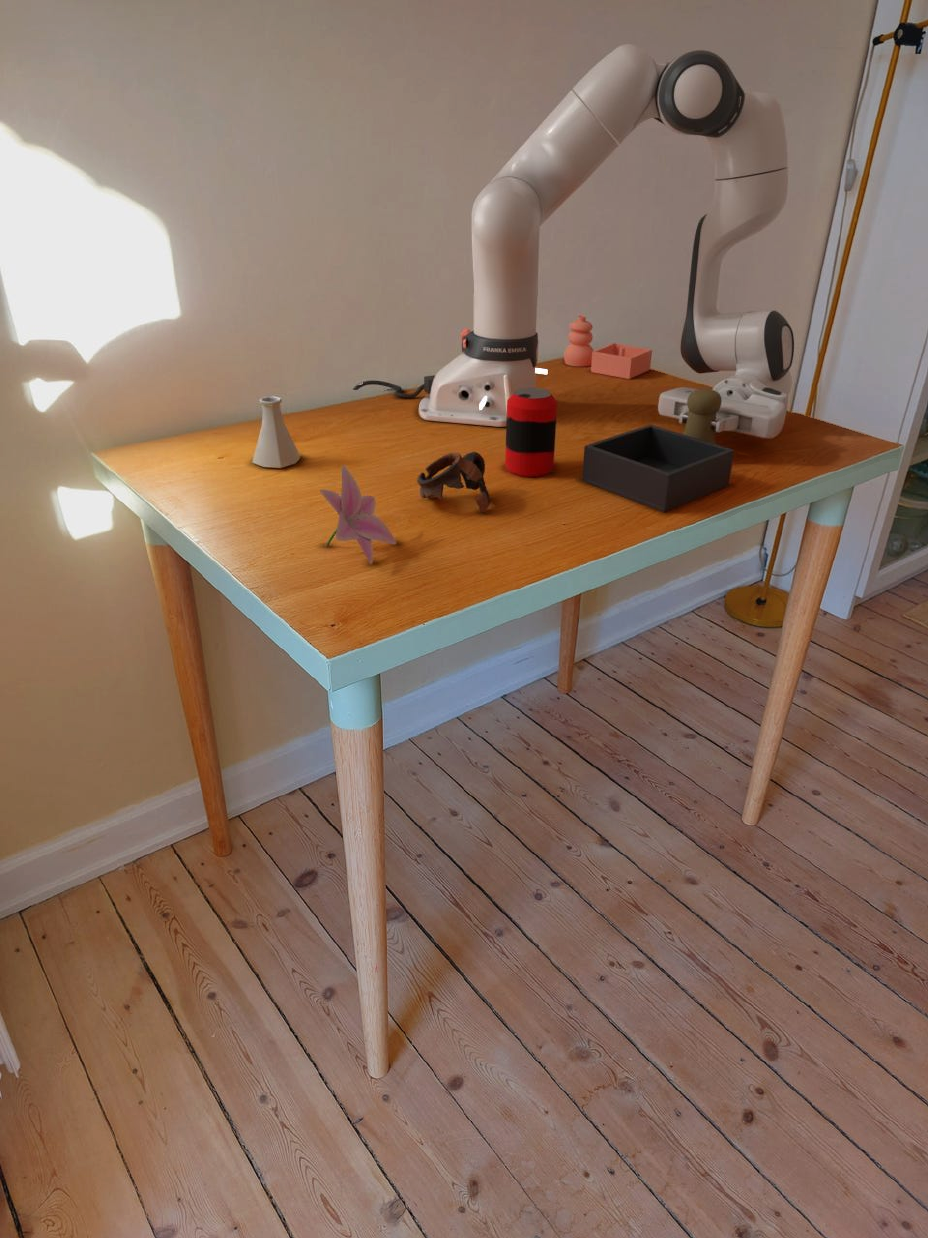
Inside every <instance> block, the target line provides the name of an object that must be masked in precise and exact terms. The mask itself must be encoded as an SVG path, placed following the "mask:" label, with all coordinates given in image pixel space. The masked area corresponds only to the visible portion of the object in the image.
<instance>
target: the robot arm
mask: <svg viewBox="0 0 928 1238" xmlns="http://www.w3.org/2000/svg"><path fill="white" fill-rule="evenodd" d="M650 119H654V120H656V121H658V122H660V123H661V124H662V125H664V126H665V127H666V128H668V129H669V130H670V131H672V132H673V133H676V134H678V135H682V136H683V135H684V136H701V137H704V138H706V140H707V141H708V142H709V144H710V146H711V147H710V148H711V150H712V156H713V164H714V165H713V170H714V175H713V176H714V188H713V189H714V190H713V197H712V200H711V204H710V206H709V209H708V211H707V213H706V214H704V215H703V216H702V217H700V219H699V221H698V223H697V225H696V229H695V234H694V239H693V246H692V253H691V263H690V272H689V273H690V274H689V284H688V291H687V292H688V294H687V303H686V304H687V305H686V312H685V319H684V323H683V326H682V327H683V328H682V331H681V332H682V333H681V338H680V355H681V358H682V359H683V361H684V362H685V364H686V365H687V366H688V367H689V368H690V369H691V370H693V371H694V372H695V373H696V374H709V373H718V372H735V373H734V374H733V375H731V376H729V377H728V378H725V379H723V380H721V381H719V382H718V383H717V384H715V385H714V386H713V388H712V389H711V390H713V391H716V392H718V393H719V394H720V396H721V400H722V402H721V406H720V409H719V411H718V412H717V413H716V419H714V420H713V421H712V422H711V431H713V432H716V433H718V434H720V433H721V432H731V433H734V432H735V433H739V434H743V435H748V436H753V437H756V438H759V439H760V438H761V439H769V440H770V439H774V438H776V437H777V436H779V434H781V432H782V431H783V428H784V424H785V421H786V416H787V411H788V406H789V405H788V403H789V395H790V392H791V390H792V387H793V386H792V385H793V378H792V373H791V371H790V369H791V367H792V364H793V360H794V353H795V337H794V332H793V329H792V327H791V325H790V324H789V321H788V320H787V319H786V318H785V317H784V315H782V314H781V313H780V312H779V311H778V310H756V311H755V310H754V311H753V310H751V311H743V312H728V313H726V312H725V313H723V312H719V311H718V309H717V302H718V301H717V300H718V294H719V293H718V292H719V283H720V275H721V267H722V262H723V260H724V259H725V255H726V254H727V253H728V252H729V251H730V249H732V248H733V247H734V246H736V245H737V244H739V243H741V242H743V241H744V240H746V239H749V238H750V237H752V236H754V235H756V234H758V233H759V232H762V231H763V230H764V229H766V228H768V227H769V226H770V225H771V224H772V223H773V222H774V221H775V220H776V219H777V218H778V216H779V215H780V214H781V212H782V211H783V209H784V207H785V205H786V202H787V199H788V189H789V155H788V143H787V134H786V127H785V121H784V116H783V111H782V107H781V104H780V102H779V100H778V99H777V98H776V97H775V96H774V95H772V94H769V93H766V92H763V91H752V92H751V91H750V92H745V91H744V89H743V87H742V86H741V84H740V83H739V81H738V80H737V78H736V77H735V74H734V72H733V71H732V69H731V67H730V66H729V64H728V63H727V62H726V61H725V60H724V59H723V58H722V56H721V57H720V56H719V55H718V54H717V53H715V52H712V51H709V50H705V49H704V50H703V49H696V50H692V51H688V52H685V53H683V54H681V55H679V56H677V57H676V58H674V59H672V60H670V61H668V62H664V63H661V62H658V61H656V60H655V59H654V58H653V57H652V56H651V54H650V53H649V52H647V51H646V50H645V49H643V48H642V47H640V46H638V45H636V44H631V43H624V44H621V45H619V46H617V47H616V48H614V49H613V50H612V51H611V52H609V53H608V54H607V55H606V56H604V57H603V58H602V59H600V61H598V62H597V63H596V64H595V65H594V66H593V67H592V68H591V69H589V70H588V71H587V72H586V74H585V75H584V76H583V77H582V78H580V80H578V82H577V83H576V84H575V85H574V86H573V87H572V89H570V90H569V91H568V92H567V94H566V95H565V96H564V97H563V98H562V100H561V101H560V102H559V103H558V104H557V105H556V107H554V109H552V111H551V112H550V113H549V114H548V115H547V116H546V118H544V119H543V121H542V122H541V123H540V124H539V126H538V127H537V128H536V129H535V130H534V131H533V132H532V134H531V135H530V136H529V137H528V138H527V140H525V142H524V143H523V144H522V145H521V146H520V147H519V148H518V150H517V151H516V152H515V153H514V154H513V156H511V158H509V160H508V161H506V163H505V164H504V166H503V167H501V169H500V170H499V171H498V173H496V175H495V176H494V177H493V178H492V179H491V181H489V183H488V184H487V185H485V187H484V188H483V189H482V190H481V191H480V192H479V193H478V195H477V196H476V198H475V200H474V202H473V205H472V209H471V254H472V275H473V276H472V277H473V329H472V331H471V330H470V329H468V328H465V329H463V330H462V331H461V334H460V340H461V352H462V353H460V354H459V355H458V356H456V357H455V358H454V359H452V360H451V361H450V362H448V363H447V364H446V365H444V366H443V367H442V368H440V369H439V370H438V371H437V373H436V374H435V375H426V376H424V377H423V384H421V385H420V386H419V387H417V389H416V390H415V391H414V392H411V393H401V392H402V390H403V388H402V386H400V385H397V384H394V383H392V382H387V381H381V380H372V379H371V380H366V381H362V382H363V384H362V385H358V384H356V385H355V386H353V388H352V390H353V391H358V390H359V389H360V388H361V389H362V388H363V387H365V386H371V385H373V386H374V385H376V386H382V387H387V388H390V389H394V390H395V391H394V396H396V397H397V398H400V399H413V398H415V397H417V396H418V395H420V393H421V392H422V391H423V392H425V393H427V394H428V395H426V396H425V397H423V398H421V400H420V402H419V404H418V405H419V406H418V415H419V416H420V418H422V419H423V420H425V421H432V422H443V423H453V424H463V425H464V424H465V425H474V426H476V425H477V426H486V427H497V428H498V427H499V428H506V418H507V400H508V399H509V398H510V397H511V395H512V394H513V393H514V391H515V390H517V389H521V388H538V386H537V374H540V375H548V369H546V368H539V367H536V366H537V365H538V358H539V342H540V341H539V334H538V333H537V315H538V314H537V313H538V294H539V293H538V291H539V258H540V257H539V254H540V231H541V230H540V229H541V226H542V225H543V224H544V223H545V222H546V221H547V220H548V219H549V218H550V217H551V216H552V215H553V214H554V213H555V212H556V211H557V210H558V209H559V208H560V207H561V206H562V205H563V204H564V203H565V202H566V201H567V200H569V198H570V197H571V196H572V195H573V194H574V193H575V192H576V191H577V190H578V189H579V188H580V187H581V186H582V185H584V183H585V182H586V181H587V180H588V179H589V178H590V177H591V176H592V175H593V174H594V173H595V172H596V171H597V170H598V168H599V167H600V166H601V165H603V163H604V162H605V161H606V160H607V159H608V158H609V157H610V155H611V154H613V152H614V151H615V150H616V149H617V148H618V147H619V146H620V145H621V144H622V143H623V142H624V140H625V139H626V138H627V137H628V136H629V135H630V134H631V133H632V132H633V131H635V129H636V128H637V127H638V126H640V125H641V124H642V123H644V122H645V121H648V120H650ZM694 390H698V388H694V387H687V386H681V387H676V388H671V389H668V390H666V391H663V392H661V393H660V395H659V398H658V404H657V405H658V406H657V412H658V414H659V415H660V416H662V417H667V418H672V419H676V420H678V424H679V425H682V426H683V425H684V426H686V423H687V419H688V415H689V412H690V410H689V408H688V406H687V400H688V397H689V395H690V393H691V392H692V391H694Z"/></svg>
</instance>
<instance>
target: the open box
mask: <svg viewBox="0 0 928 1238" xmlns="http://www.w3.org/2000/svg"><path fill="white" fill-rule="evenodd" d="M683 434H684V433H680V432H676V431H673V430H670V429H667V428H664V427H660V426H657V425H653V424H648V425H645V426H641V427H638V428H635V429H633V430H629V431H626V432H622V433H620V434H617V435H614V436H611V437H607V438H604V439H602V440H598V441H596V442H592V443H588V444H586V445H584V449H583V461H582V462H583V463H582V473H581V474H582V476H581V481H582V483H583V482H584V483H586V484H588V485H592V486H593V487H597V488H599V489H602V490H604V491H607V492H610V493H612V494H614V495H617V496H619V497H623V498H625V499H628V500H630V501H633V502H636V503H637V504H641V505H643V506H646V507H649V508H651V509H653V510H657V511H659V512H662V513H667V512H669V511H671V510H674V509H676V508H678V507H681V506H683V505H686V504H688V503H690V502H693V501H696V500H698V499H700V498H703V497H704V496H707V495H709V494H712V493H715V492H716V491H719V490H721V489H724V488H727V487H728V486H729V485H730V480H731V473H732V468H733V461H734V455H735V449H732V448H728V447H725V446H722V445H719V444H717V443H716V444H713V443H709V442H706V441H703V440H700V439H696V438H693V437H690V436H687V435H683Z"/></svg>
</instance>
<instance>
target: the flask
mask: <svg viewBox="0 0 928 1238" xmlns="http://www.w3.org/2000/svg"><path fill="white" fill-rule="evenodd" d="M282 401H283V398H282V397H279V396H272V395H271V396H264V397H261V398H260V399H259V405H261V409H262V418H261V426H260V431H259V436H258V440H257V443H256V447H255V450H254V454H253V457H252V463H253V464H255V465H258V466H260V467H261V468H262V467H263V468H276V469H282V468H285V467H288V466H291V465H295V464H296V463H297V462H298V461H299V460H300V458H301V454H300V452H299V450H298V448H297V446H296V444H295V443H294V440H293V438H292V435H291V434H290V432H289V429H288V427H287V425H286V423H285V420H284V417H283V413H282V407H281V403H282Z"/></svg>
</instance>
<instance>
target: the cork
mask: <svg viewBox="0 0 928 1238" xmlns="http://www.w3.org/2000/svg"><path fill="white" fill-rule="evenodd" d="M697 389H698V388H697ZM721 402H722V400H721V396H720V394H719V393H718V392H716V391H713V390H712V389H707V388H699V389H698V390H694V391H692V392H691V393H690V395H689V397H688V400H687V406H688V408H689V410H690V412H689V415H688V419H687V423H686V425H685V427H684V431H683V433H682V434H683V435H687V436H690V437H693V438H696V439H700V440H703V441H706V442H709V443H713V444H716V445H717V432H713V431H711V422H712V421H713V420H714V419H716V413H717V412H718V411H719V409H720V406H721Z"/></svg>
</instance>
